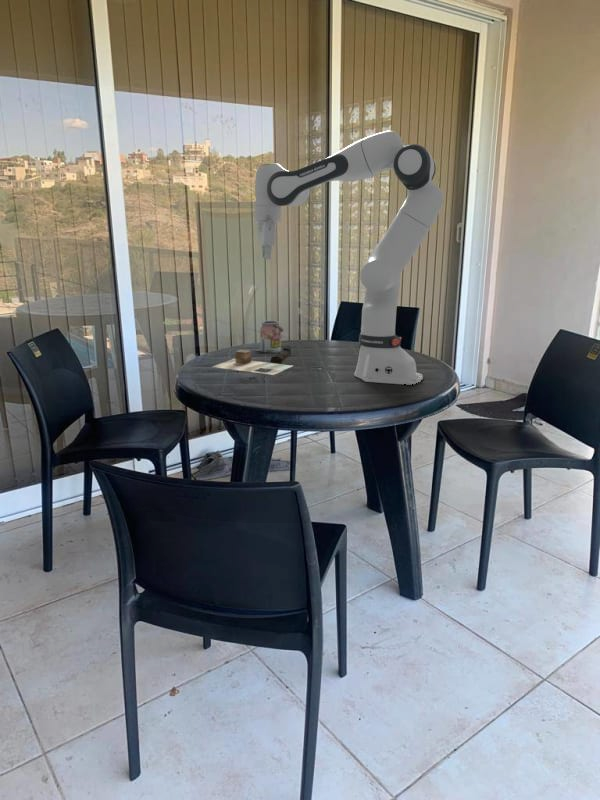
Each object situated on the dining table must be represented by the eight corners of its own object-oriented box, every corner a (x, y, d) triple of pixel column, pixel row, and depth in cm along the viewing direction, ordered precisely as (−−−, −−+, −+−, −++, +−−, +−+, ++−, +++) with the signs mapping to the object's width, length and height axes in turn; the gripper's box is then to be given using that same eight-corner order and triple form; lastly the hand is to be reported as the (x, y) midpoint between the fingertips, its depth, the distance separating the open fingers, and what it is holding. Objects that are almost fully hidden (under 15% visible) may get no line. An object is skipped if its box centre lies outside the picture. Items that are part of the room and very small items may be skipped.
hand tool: (280, 367, 204) (281, 354, 203) (270, 366, 205) (270, 353, 204) (296, 357, 221) (296, 345, 220) (286, 356, 222) (286, 344, 221)
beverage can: (273, 349, 235) (273, 319, 232) (287, 352, 229) (287, 322, 226) (255, 351, 229) (255, 321, 226) (269, 355, 223) (269, 324, 220)
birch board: (293, 369, 200) (293, 365, 199) (273, 379, 187) (273, 374, 186) (233, 362, 209) (233, 358, 209) (211, 371, 196) (211, 366, 196)
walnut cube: (251, 361, 204) (251, 350, 203) (245, 363, 201) (245, 352, 200) (241, 360, 206) (241, 349, 205) (235, 362, 202) (235, 351, 201)
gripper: (280, 215, 183) (278, 260, 187) (273, 216, 202) (272, 257, 206) (260, 214, 182) (259, 259, 186) (255, 215, 201) (254, 256, 205)
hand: (266, 258), depth 196 cm, fingers open, 8 cm apart
